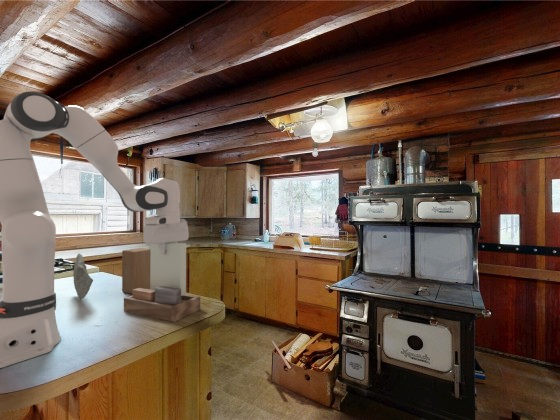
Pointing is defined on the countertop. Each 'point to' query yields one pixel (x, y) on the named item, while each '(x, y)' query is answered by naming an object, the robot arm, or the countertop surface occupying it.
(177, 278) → the white rectangular panel
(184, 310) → the walnut tray
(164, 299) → the charcoal offcut
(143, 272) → the wooden block
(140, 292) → the cedar offcut
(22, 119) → the robot arm
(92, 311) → the countertop surface
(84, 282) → the rock
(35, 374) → the countertop surface
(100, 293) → the countertop surface
